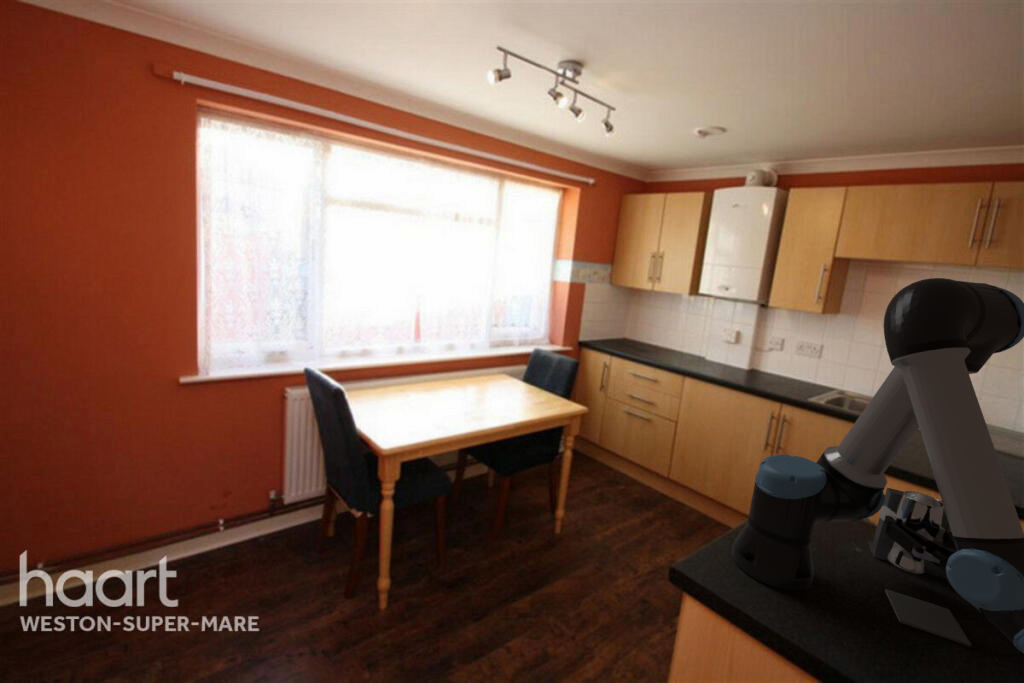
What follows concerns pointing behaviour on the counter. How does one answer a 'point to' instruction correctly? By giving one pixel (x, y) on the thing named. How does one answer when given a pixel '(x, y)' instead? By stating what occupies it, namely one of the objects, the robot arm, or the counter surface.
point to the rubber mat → (926, 617)
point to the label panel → (885, 543)
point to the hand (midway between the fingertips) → (901, 515)
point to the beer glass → (917, 526)
